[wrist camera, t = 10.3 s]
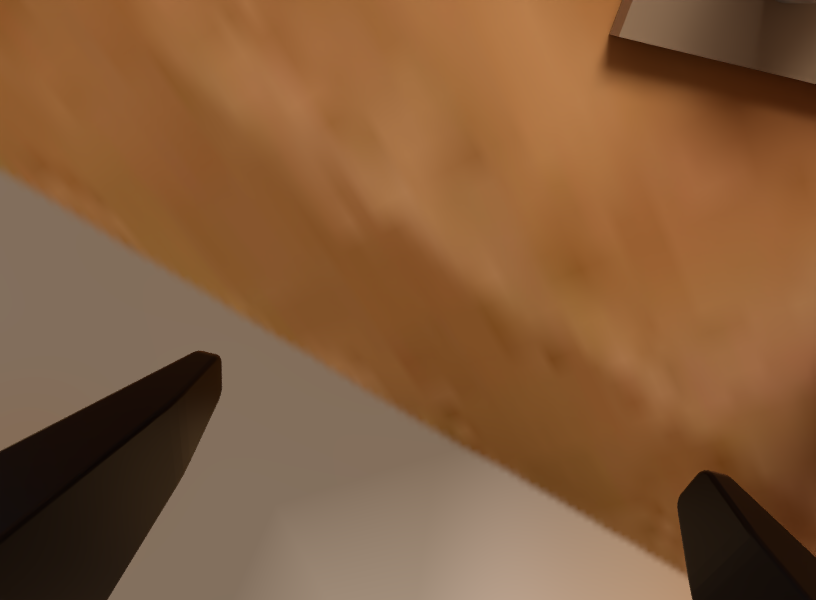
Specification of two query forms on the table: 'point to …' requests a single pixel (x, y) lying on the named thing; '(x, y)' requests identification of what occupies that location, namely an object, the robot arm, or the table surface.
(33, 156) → the table surface
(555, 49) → the table surface
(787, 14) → the pin board
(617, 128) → the table surface
